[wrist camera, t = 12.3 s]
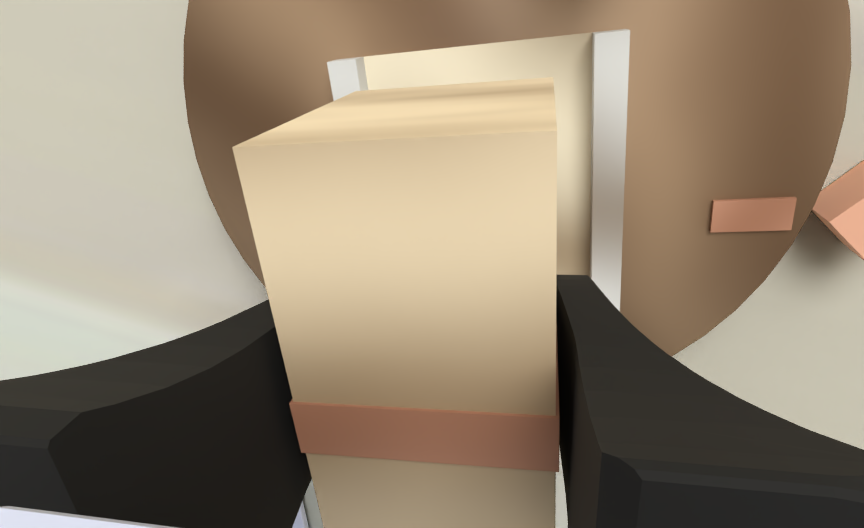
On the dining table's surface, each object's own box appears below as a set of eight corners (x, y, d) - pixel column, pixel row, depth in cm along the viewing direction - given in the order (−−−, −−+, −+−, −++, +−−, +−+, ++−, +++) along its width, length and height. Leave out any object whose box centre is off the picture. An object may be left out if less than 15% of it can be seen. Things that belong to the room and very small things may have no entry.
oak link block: (554, 438, 14) (558, 641, 10) (402, 429, 15) (339, 610, 11) (555, 76, 11) (561, 131, 6) (354, 91, 11) (226, 147, 7)
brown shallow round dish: (425, 435, 23) (395, 544, 18) (107, 55, 18) (-39, 72, 14) (926, 214, 16) (1083, 300, 11) (606, -495, 11) (648, -840, 7)
